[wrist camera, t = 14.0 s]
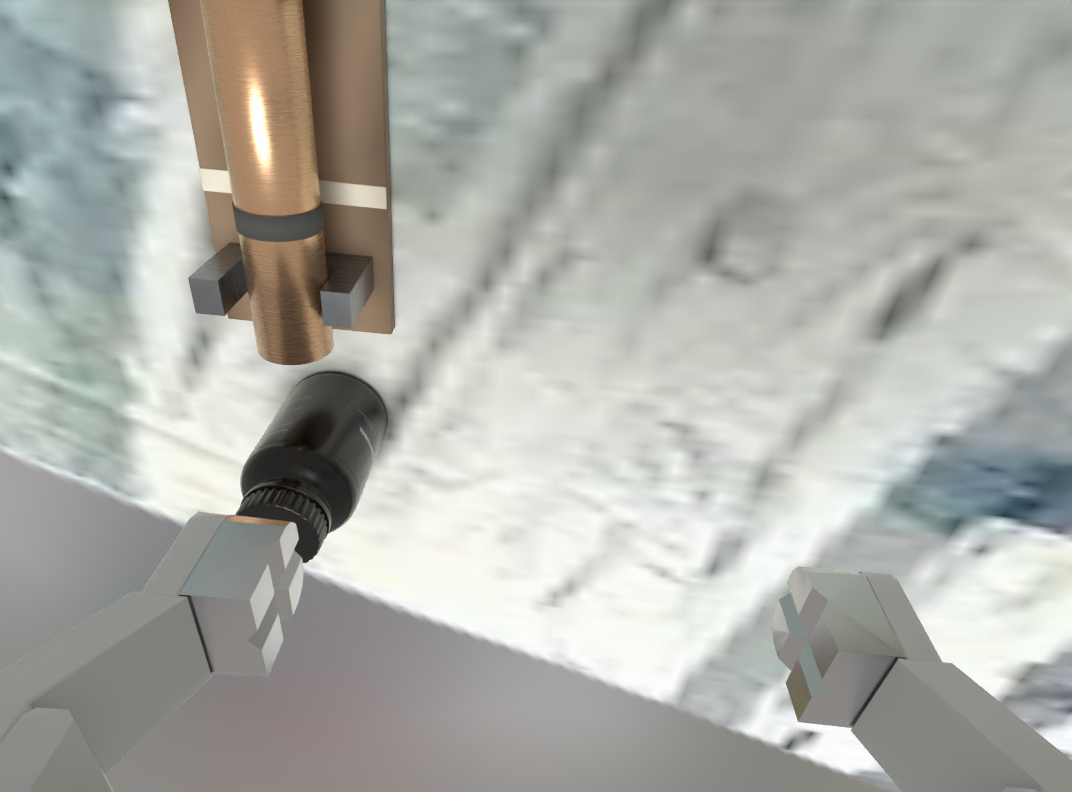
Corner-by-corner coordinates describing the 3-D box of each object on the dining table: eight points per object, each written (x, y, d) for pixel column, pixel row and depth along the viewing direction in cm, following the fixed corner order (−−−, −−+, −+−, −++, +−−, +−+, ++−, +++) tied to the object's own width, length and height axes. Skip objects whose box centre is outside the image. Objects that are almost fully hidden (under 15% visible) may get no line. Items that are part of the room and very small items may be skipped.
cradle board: (379, -170, 28) (373, -174, 27) (394, 326, 41) (390, 335, 41) (142, -197, 28) (128, -203, 27) (235, 311, 41) (227, 319, 40)
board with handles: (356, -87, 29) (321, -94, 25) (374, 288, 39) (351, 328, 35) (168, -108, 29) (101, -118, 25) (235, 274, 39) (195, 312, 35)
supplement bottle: (409, 414, 45) (366, 544, 35) (348, 464, 48) (291, 598, 38) (330, 349, 43) (259, 470, 33) (269, 406, 45) (187, 534, 35)
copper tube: (174, -171, 25) (161, -184, 22) (287, -154, 27) (291, -164, 23) (256, 331, 38) (256, 369, 34) (331, 326, 39) (337, 361, 36)
